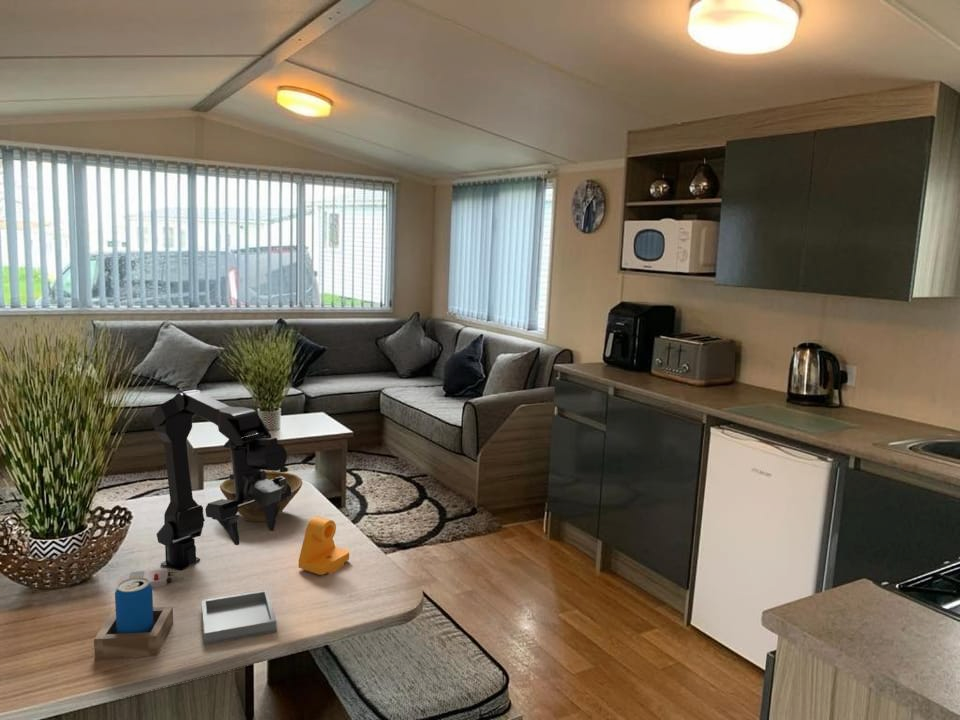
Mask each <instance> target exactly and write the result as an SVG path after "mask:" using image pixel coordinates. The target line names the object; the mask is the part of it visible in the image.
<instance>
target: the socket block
mask: <svg viewBox="0 0 960 720" xmlns="http://www.w3.org/2000/svg"><path fill="white" fill-rule="evenodd" d="M173 608H174V606H172V605H171V606H170V605H169V606H153V620H154V627H153V629H152V631H151V632H147V633H126V634H117V626H116V608H114V610H113V611H112V612H111V614H110V616H109V617H108V618H107V620H106V621H105V622H104V624H103V626H102V627H101V629H100V630H99V631H98V633H97V634H96V635H95V637H94V638H93V646H94V648H93V649H94V659H95V660H98V659H99V660H100V659H102V660H103V659H118V658H119V659H120V658H122V659H123V658H137V657H138V658H139V657H158V656H159V653H160V651H161V650H162V647H163V645H164V644H165V642H166V639H167V638H168V635H169V634H170V632H171V630H172V629H173V626H174V609H173Z"/></svg>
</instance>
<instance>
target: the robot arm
mask: <svg viewBox="0 0 960 720" xmlns="http://www.w3.org/2000/svg"><path fill="white" fill-rule="evenodd" d="M195 416H198V417H200V418H202V419H205V420H206V421H208V422H210V423H212V424H215V426H217V429H218V432H220V434H222V435H223V436H224V437H225V438H227V439H228V440H227V441H226V442H225V443H224V445H223V447H224V448H225V449H230V457H231V458H230V459H231V467H232V473H230V474H228V476H229V479H234V485H235V492H233V493H232V498H236V500H227V499H223V498H221V499H219V500H214V501H212V502H209V503H207V504H206V506H205V515H204V507H203V506H202V505H201V504H198V503H197V501H196V500H195V499H194V497H193V489H192V482H191V481H192V479H191V471H190V470H191V469H190V461H189V451H188V443H187V441H188V440H187V439H188V437H189V435H190V434H191V433H190V432H191V431H192V430H193V418H194V417H195ZM151 421H152V424H153V427H154V428H153V429H154V432H155V434H156V435H157V436H158V437H159V439H161V441H162V442H163V447H164V455H165V456H164V457H165V465H166V472H167V473H166V476H167V483H168V492H169V503H168V506H167V508H166V510H165V512H164V515H163V516H164V517H163V518H164V519H163V520H164V522H163V523H164V524H163V525H162V526H161V528H160V529H159V530H158V531H157V533H156V537H157V542H158V544H161V545H163V546H165V548H164V550H165V561H162V562H161V563H160V567H163V568H167V569H172V570H176V571H184V570H185V569H187V568H189V567H190V565H191V566H193V565H194V564H195V563H197V562H200V561H201V557H197V547H196V546H197V545H195V543H196V541H195V538H198V537H201V536H202V532H203V528H204V523H205V522H206V519H205V518H211V519H212V520H216V521H217V522H218V523H219V524H220V525H221V527H222V528H223V530H224V531H225V532H226V533H227V535H228V537H229V538H230V540H231V541H232V542H233V544H234V545H235V546H239V545H240V533H239V525H238V521H239V519H240V517H241V514H237V513H239V512H238V508H240V507H243V506H246V505H248V504H251V503H254V502H258V503H259V504H260V505H262V506H263V509H264V513H265V517H266V521H265V522H266V525H267V528H268V531H269V532H274V530H275V527H276V523H277V518H278V516H279V515H278V511H279V508H280V506H281V505H282V504H283V503H284V501H286V500H287V499H288V498H286V497H288V496H291V495H292V490H291V487H290V485H289V484H288V483H286V478H284V477H283V476H280V477H277V478H275V479H271V480H268V479H267V477H266V473H265V471H270V472H272V471H274V472H278V471H280V470H281V469H282V468H283V467H284V466H285V465H286V463H287V458H288V452H287V451H286V449H285V447H284V445H282V444H280V443H278V438H277V437H272V435H271V433H270V430H269V429H268V428H267V426H266V425H265V423H264V422H263V420H262V419H261V417H260V415H259V413H258V412H257V411H256V410H255V409H253V408H248V407H243V406H231V405H227V404H226V403H224V402H221V401H219V400H218V399H215V398H213V397H211V396H208V395H206V394H204V393H203V392H202V391H201V390H199V389H191V390H190V389H189V390H185V391H179V392H178V393H177V394H175V396H173V397H172V398H170V399H168V400H167V401H165V402H164V403H161V404H160V405H159V406H156V407H155V409H154V410H153V411H152V414H151ZM245 500H247V501H245ZM244 501H245V502H244ZM277 515H278V516H277Z"/></svg>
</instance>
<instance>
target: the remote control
mask: <svg viewBox="0 0 960 720" xmlns="http://www.w3.org/2000/svg"><path fill="white" fill-rule="evenodd" d="M168 569H169V568H168V567H163V568H155V569H147V570H137V571H129V572H126V573H124V574H121V575H120V576H119V579H118V582H117V585H118V584H119V583H120V582H122V581H124V580H126V579H130V578H135V577H143V578H147V579H148V580H149V583H150V584H151V585H152V588H158V587H160V588H161V587H165V586H166V585H167V584H168V583H171V582H173V581H174V582H175V581H178V580H184V579H185V577H174V578H172V577H171V576H174V574H177V571H171V572H170V571H169V570H168Z"/></svg>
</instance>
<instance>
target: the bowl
mask: <svg viewBox="0 0 960 720" xmlns="http://www.w3.org/2000/svg"><path fill="white" fill-rule="evenodd" d="M264 471H265V473H266V477H267V479H268V480H271V479H275V478H277V477H280V476H283V477H284V478H286V483H288V484H289V485H290V487H291V490H292V495H291V496H288V497H286V498H288V499H287V500H286V501H284V503H283V504H282V505H281V506H280V508H279V511H278V515H277V517H278V516H279V515H280V514H281V513H282V512H283V510H284V509H285V508H286V507H287V506H288V505H289V503H290V502H291V501H292V500H293V498H294V497H295V496H296V495H297V494H298V493H299V491H300V490H301V488H302V485H303V479H302V478H301V477H300V476H298V475H296V474H294V473H289V472H283V471H271V470H264ZM219 488H220V491H221V492H222V494H223V496H224V497H225V498H226V500H236V498H232V493H233V492H235V485H234V479H230V478H228V479H225V480H224V481H223V482H222V483H220V484H219ZM245 501H247V500H245ZM245 501H244V502H245ZM237 513H239V515H240V516H241V517H242V518H243V519H244V520H245V521H249V522H257V523H258V522H266V517H265V513H264V509H263V506H262V505H260V504H259V503H258V502H254V503H251V504H248V505H246V506H243V507H240V508H238V512H237Z"/></svg>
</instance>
